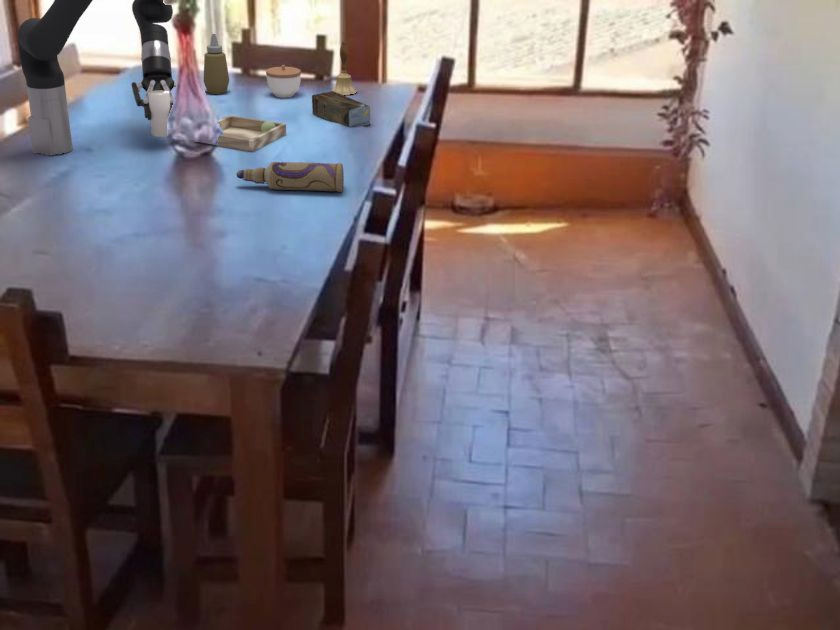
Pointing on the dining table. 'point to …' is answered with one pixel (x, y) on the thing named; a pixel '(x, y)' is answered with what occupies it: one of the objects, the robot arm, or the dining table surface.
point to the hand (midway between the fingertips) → (160, 118)
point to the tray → (247, 133)
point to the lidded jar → (283, 81)
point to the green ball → (267, 126)
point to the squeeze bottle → (215, 68)
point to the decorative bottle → (297, 176)
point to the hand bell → (344, 75)
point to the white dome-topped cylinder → (159, 112)
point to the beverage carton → (340, 109)
